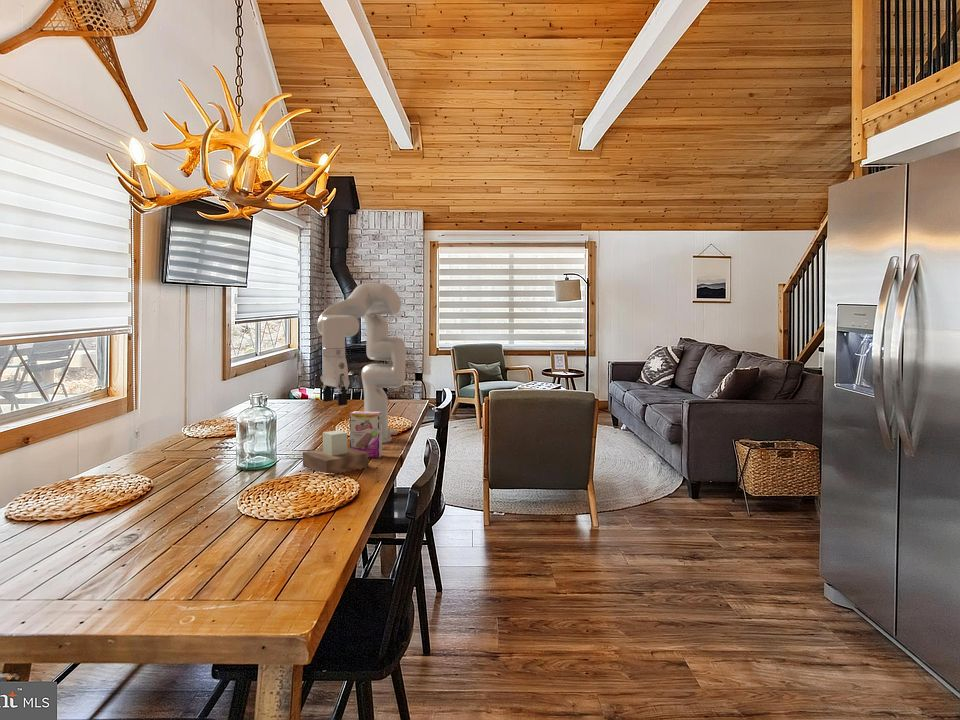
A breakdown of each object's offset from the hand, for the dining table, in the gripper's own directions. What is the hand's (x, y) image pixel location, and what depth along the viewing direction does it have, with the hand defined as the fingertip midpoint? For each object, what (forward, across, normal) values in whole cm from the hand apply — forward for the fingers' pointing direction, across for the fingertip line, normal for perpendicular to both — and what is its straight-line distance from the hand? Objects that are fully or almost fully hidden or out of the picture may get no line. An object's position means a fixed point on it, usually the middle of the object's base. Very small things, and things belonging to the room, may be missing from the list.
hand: (335, 403), depth 215 cm
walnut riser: (+22, -1, +1) cm, 22 cm away
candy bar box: (+23, +6, -16) cm, 28 cm away
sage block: (+17, 0, +1) cm, 17 cm away
